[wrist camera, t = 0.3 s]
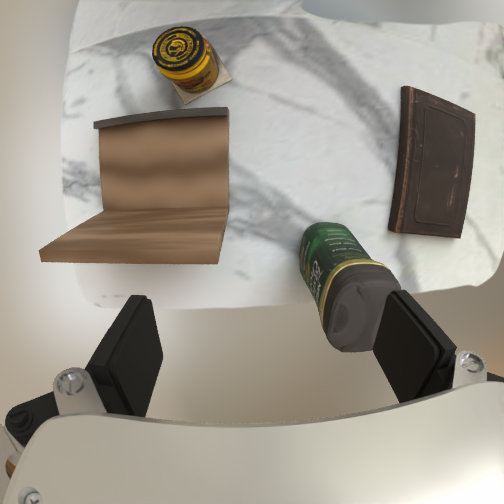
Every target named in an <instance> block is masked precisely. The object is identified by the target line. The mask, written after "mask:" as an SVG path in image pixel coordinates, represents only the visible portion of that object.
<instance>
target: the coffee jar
mask: <svg viewBox="0 0 504 504" xmlns="http://www.w3.org/2000/svg"><path fill="white" fill-rule="evenodd" d="M300 272H301V274H302V277H303V279H304V281H305V282H306V284H307V286H308V288H309V289H310V291H311V293H312V295H313V298H314V300H315V302H316V304H317V307H318V311H319V315H320V320H321V324H322V328H323V330H324V332H325V334H326V336H327V339H328V341H329V343H330V344H331V345H332V346H333V347H334V348H336V349H338V350H340V351H341V352H364V351H371V350H373V345H374V342H375V338H376V335H377V332H378V328H379V325H380V321H381V318H382V314H383V310H384V306H385V302H386V298H387V296H388V295H389V294H390V293H391V292H392V291H395V290H401V286H400V284H399V282H398V281H397V279H396V278H395V277H394V275H393V274H392V272H391V271H390V270H389V268H387V267H386V266H385V265H383V264H382V263H380V262H377V261H373V260H372V259H371V258H370V256H369V255H368V254H367V253H366V251H365V250H364V249H363V247H362V246H361V245H360V244H359V242H358V241H357V239H356V238H355V237H354V235H353V234H352V233H351V232H350V231H349V229H348V228H346V227H345V226H344V225H341V224H338V223H330V222H321V223H316V224H313V225H312V226H310V227H309V228H308V229H307V230H306V232H305V234H304V237H303V240H302V245H301V251H300Z"/></svg>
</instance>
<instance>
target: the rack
mask: <svg viewBox="0 0 504 504" xmlns="http://www.w3.org/2000/svg"><path fill="white" fill-rule="evenodd" d="M94 129H99V159H100V176H101V189H102V200H103V209H104V211H103V212H101V213H99V214H98V215H96V216H94V217H92V218H90V219H89V220H87V221H85V222H84V223H82V224H80V225H78V226H77V227H75V228H73V229H72V230H70V231H68V232H67V233H65V234H64V235H62V236H60V237H59V238H57V239H56V240H54V241H53V242H51V243H49V244H48V245H46V246H45V247H43V248H42V249H40V250H39V254H40V258H41V262H69V263H125V264H218V261H219V256H220V251H221V246H222V242H223V237H224V232H225V228H226V223H227V219H228V214H229V110H228V107H213V108H193V109H180V110H168V111H159V112H150V113H143V114H135V115H129V116H122V117H117V118H111V119H105V120H100V121H95V122H94Z"/></svg>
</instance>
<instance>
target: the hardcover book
mask: <svg viewBox="0 0 504 504" xmlns="http://www.w3.org/2000/svg"><path fill="white" fill-rule="evenodd" d="M474 144H475V114H474V113H472V112H470V111H468V110H466V109H464V108H462V107H460V106H458V105H456V104H453V103H451V102H449V101H447V100H444V99H442V98H439V97H437V96H435V95H432V94H430V93H427V92H424V91H422V90H419V89H416V88H413V87H411V86H403V87H401V120H400V137H399V150H398V161H397V170H396V179H395V187H394V194H393V201H392V207H391V213H390V219H389V225H388V229H389V230H390V231H392V232H396V233H408V234H419V235H430V236H440V237H450V238H460V237H461V233H462V229H463V224H464V219H465V214H466V209H467V204H468V198H469V191H470V184H471V177H472V168H473V157H474Z"/></svg>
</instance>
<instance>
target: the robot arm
mask: <svg viewBox="0 0 504 504" xmlns="http://www.w3.org/2000/svg"><path fill="white" fill-rule="evenodd" d="M456 348H457V347H456V346H455V344H454V343H453V342H452V341H451V340H450V339H449V337H448V336H447V335H446V334H445V333H444V331H443V330H442V329H441V328H440V327H439V326H438V325H437V324H436V322H435V321H434V320H433V319H432V318H431V317H430V316H429V315H428V314H427V313H426V311H425V310H424V309H423V308H422V307H421V306H420V305H419V304H418V303H417V302H416V301H415V300H414V298H413V297H412V296H411V295H410V294H409V293H408V292H407V291H406V290H395V291H392V292H391V293H390V294H389V295H388V296H387V298H386V302H385V306H384V310H383V314H382V318H381V321H380V325H379V328H378V332H377V335H376V338H375V342H374V345H373V352H374V355H375V357H376V358H377V360H378V362H379V364H380V366H381V368H382V370H383V371H384V373H385V375H386V377H387V379H388V381H389V383H390V385H391V387H392V389H393V391H394V393H395V395H396V397H397V399H398V401H399V404H395V405H392V406H387V407H383V408H378V409H374V410H369V411H364V412H358V413H352V414H346V415H340V416H335V417H326V418H319V419H310V420H300V421H289V422H273V423H236V424H235V423H234V424H233V423H201V422H186V421H173V420H162V419H153V418H145V416H146V413H147V409H148V406H149V403H150V399H151V396H152V392H153V389H154V386H155V383H156V380H157V376H158V373H159V370H160V367H161V364H162V360H163V352H162V347H161V343H160V339H159V334H158V330H157V326H156V321H155V316H154V311H153V306H152V301H151V300H150V299H147V297H146V296H145V295H131V296H130V297H129V299H128V300H127V302H126V304H125V305H124V307H123V308H122V310H121V311H120V313H119V314H118V316H117V317H116V319H115V321H114V322H113V324H112V325H111V327H110V328H109V329H108V331H107V333H106V334H105V336H104V337H103V339H102V340H101V342H100V344H99V345H98V347H97V349H96V350H95V352H94V354H93V355H92V357H91V359H90V361H89V362H88V364H87V366H86V368H85V369H82V368H69V369H66V370H64V371H62V372H61V373H60V374H58V375H57V376H56V378H55V379H54V382H53V392H50V393H48V394H45V395H43V396H40V397H38V398H35V399H33V400H30V401H27V402H25V403H22V404H20V405H17V406H15V407H13V408H12V409H11V410H10V411H9V412H8V414H7V416H6V420H5V426H4V427H3V426H2V425H1V424H0V504H504V378H503V377H500V376H497V375H495V374H491V373H489V372H487V366H486V362H485V361H484V359H483V358H482V357H481V356H480V355H478V354H477V353H474V352H472V351H462V352H460V353H459V354H458V355H457V356H456V355H455V350H456Z"/></svg>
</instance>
